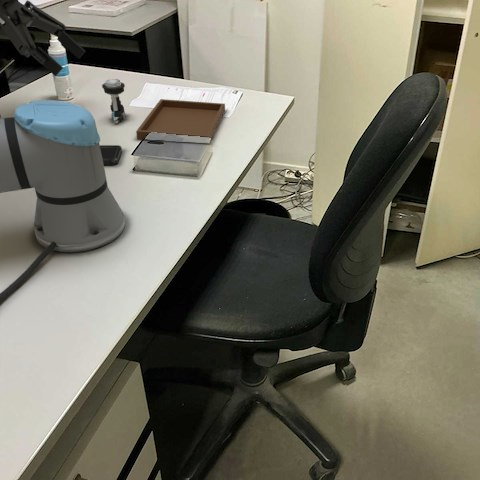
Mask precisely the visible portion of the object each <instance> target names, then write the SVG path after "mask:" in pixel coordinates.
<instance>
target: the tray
mask: <svg viewBox="0 0 480 480" xmlns="http://www.w3.org/2000/svg"><path fill="white" fill-rule="evenodd" d="M225 112H226V103H223V102H222V103H221V102H220V103H219V102H206V101H194V100H193V101H191V100H178V99H165V98H163V99H162V98H161V99H159V101H158V102H157V103H156V104H155V106H154V107H153V109H152V110H151V111H150V112H149V114H148V115H147V117H146V118H145V119H144V120H143V121H142V123H141V124H140V126H139V127H138V128H137V129H136V140H140V141H144V140H143V139H144V138H145V137H146V135H147V134H149V133H151V132H157V133H166V134H176V135H188V136H200V137H209V138H211V141H212V140H213V138H214V136H215V134H216V131H217V129H218V127H219V126H220V123H221V121H222V119H223V117H224V114H225Z"/></svg>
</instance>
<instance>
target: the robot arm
mask: <svg viewBox="0 0 480 480" xmlns="http://www.w3.org/2000/svg"><path fill="white" fill-rule="evenodd" d="M28 27H30V28H33V27H34V28H36V29H39V30H41V31H43V32H45V33H47V34H50V35H51V36H54V37H56V40H57V41H58V42H59V43H60V44H61V45H63V47H65V48H66V50H67V51H69V52H70V53H71V54H73V56H74V57H75V58H77V59H78V60H80V59H81V58H82V57H83V55H84V54H85V53H86V49H84V47H82V46H81V45H80V44H79V43H78V42H77V41H75V39H73V38H72V37H71V36H70V35H69V34H68V33H67V32H66V29H67V26H66V24H64V23H63V22H61V20H60V21H59V20H58V19H57V18H55V17H53V16H52V15H50V14H48V13H47V12H45V11H44V10H42V9H40V8H39V7H38V6H36V5H35V4H34V3H33V2H32V1H30V0H25V2H24V4H23V3H21V2H20V1H19V0H0V28H1V29H2V30H3V32H4V33H5V34H6V36H7V37H8V39H9V41H10V42H11V43H12V45H13V46H14V48H15V49H16V50H17V52H18V53H19V54H20V55H21V56H24V57H26V58H29V57H30V56H31V57H33V59H35V61H37V62H38V63H39V64H41V65H42V66H43V67H44V68H45V69H46V70H48V71H49V72H50V73H51V74H52V75H53V76H54V77H56V76H58V75H59V73H60V72H61V71H62V70H63V68H64V67H63V66H62V65H61V64H60V63H59V62H58V61H56V59H54V57H52V56H51V55H50V54H48V53H47V52H46V51H45V50H44V49H43V48H42V47H41V46H36V44H35V42H34V40H33V38H32V36H31V33H30V31H29V30H28ZM1 116H2V115H0V194H2V193H9V192H16V191H22V190H27V189H34V190H35V195H36V204H35V205H36V206H35V212H34V221H33V231H34V235H35V238H36V240H37V243H38V244H39V245H41V247H44V248H45V249H44V250H43V251H42V252H41V253H40V254H39V255H38V256H37V257H36V258H35V260H34V261H33V262H32V263H31V264H30V265H29V266H28V267H27V268H26V269H25V270H24V271H23V273H22V274H20V276H18V277H17V279H15V280H14V281H13V282H12V283H11V284H10V285H8V286H7V287H6V288H4V290H2V291H1V292H0V303H2V302H3V301H4V300H5V299H6V298H7V297H8V296H9V295H10V294H12V293H13V292H14V291H15V290H16V289H18V288H19V286H21V285H22V284H23V283H24V282H25V281H26V280H27V279H28V278H29V277H30V276H31V275H32V274H33V273H34V272H35V271H36V269H37V268H38V267H39V266H40V265H41V264H42V263H43V261H44V260H45V259H46V258H47V257H49V255H50V254H51V253H52V252H53V251H54V252H59V253H81V252H86V251H87V252H88V251H91V250H94V249H98V248H100V247H103V246H105V245H108V244H109V243H111V242H113V241H115V240H116V239H117V238H118V237H119V236H120V235H121V234H122V233H123V231H124V229H125V225H126V222H125V215H124V212H123V210H122V208H121V206H120V204H119V203H118V201H117V200H116V198H115V197H114V194H113V193H112V191H111V190H110V188H109V185H108V181H107V180H108V179H107V176H106V170H105V165H103V160H102V154H101V149H100V142H101V137H100V134H99V132H98V127H97V124H96V120H95V118H94V116H93V114H92V113H91V112H90V111H89V110H88V109H86V108H84V107H83V106H81V105H77V104H75V103H72V102H67V101H61V100H34V101H30V102H29V103H21V104H20V105H19V106H17V107H16V108H15V110H14V113H13V116H11V117H1Z"/></svg>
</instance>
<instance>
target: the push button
mask: <svg viewBox="0 0 480 480" xmlns="http://www.w3.org/2000/svg"><path fill="white" fill-rule="evenodd" d="M125 86H126V85H125V83H124V82H121V79H118V78H109V79H106V80H105V81H104V83H103V84H101V87H102V89H103V91H104V94H107V95H109V96H110V98H111V102H110V103H111V104H110V106H109V108H110V111H111V119H112V121H113V122H112V123H114V124H118V123H121V122H122V120H125V118H126V111H125V107H124V104H122V101H121V99H120V95H121V94H123V93H124V92H125Z"/></svg>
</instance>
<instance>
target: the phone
mask: <svg viewBox="0 0 480 480" xmlns="http://www.w3.org/2000/svg"><path fill="white" fill-rule="evenodd" d="M122 147H123V146H121V145H117V144H115V145H113V144H102V145H100V149H101V154H102V160H103V165H104V166H115V165H117V164H118V163H119V161H120V159H121V156H122V154H123V148H122Z"/></svg>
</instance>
